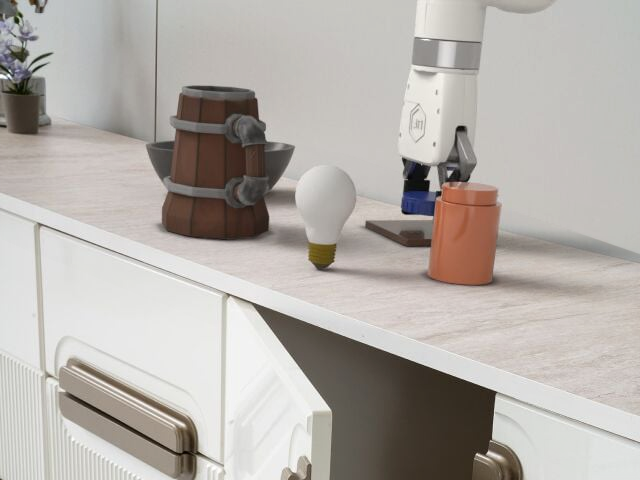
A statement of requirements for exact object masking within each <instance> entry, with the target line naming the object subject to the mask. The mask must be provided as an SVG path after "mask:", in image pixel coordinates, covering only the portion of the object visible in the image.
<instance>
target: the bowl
mask: <svg viewBox="0 0 640 480" xmlns="http://www.w3.org/2000/svg"><path fill="white" fill-rule="evenodd" d="M174 141H175V139H173V140H162V141H154V142H153V141H152V142H149V143H146V144H145V148H146V151H147V155H148V158H149V160H150V163H151V165H152V167H153V169H154V171H155V173H156V175H157V176H158V178H159V180H160V181H161V183H162V184H163V179H164V177H168V176H170V175H171V166H172V158H173V149H174ZM266 141H267V145H266V146H264V148H265V175H267V176H268V177H269V180H268V182H267V184H268V185H269V192H271V190H272V189H273V188H274V187H275V185H277V183H278V182H279V181H280V180H281V178H282V176H283V175H284V173H285V171H286V169H287V167H288V166H289V164H290V162H291V160H292V157H293V155H294V152H295V149H296V146H295V145H293V144H289V143H285V142H279V141H278V142H277V141H268V140H266ZM266 195H267V194H264V195H263V196H266Z"/></svg>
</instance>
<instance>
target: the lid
mask: <svg viewBox="0 0 640 480" xmlns="http://www.w3.org/2000/svg"><path fill="white" fill-rule="evenodd" d="M435 197H436V191H430V190H429V191H408V192H404V193H403V192H402V197H401V204H400V209H402V210H404V211H406V212H409V213H413V214H418V215H417V216H426V217H433V216H434V206H435Z"/></svg>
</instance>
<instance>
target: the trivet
mask: <svg viewBox="0 0 640 480" xmlns="http://www.w3.org/2000/svg"><path fill="white" fill-rule="evenodd" d="M364 222H365V223H364V227H365V228H367V229H369V230H371V231H373V232H375V233H377V234H380V235H381V236H384V237H386V238H387V239H390V240H393V241H395V242H397V243H398V244H399V243H400V244H401V245H403V246H406V247H431V240H432V230H433V219H393V220H392V219H391V220H390V219H387V220H386V219H383V220H382V219H380V220H378V219H377V220H375V219H374V220H373V219H372V220H365V221H364Z"/></svg>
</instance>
